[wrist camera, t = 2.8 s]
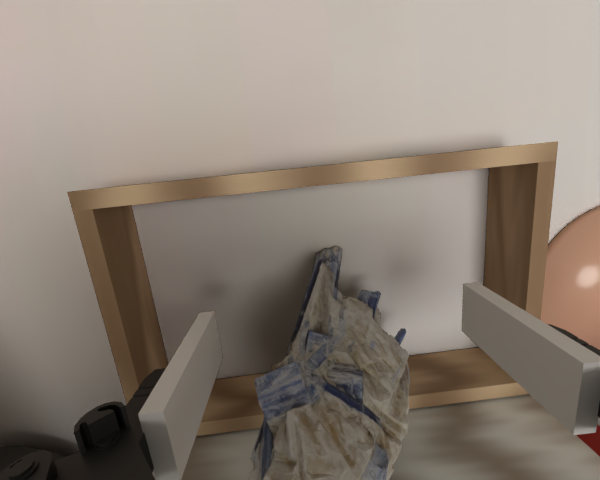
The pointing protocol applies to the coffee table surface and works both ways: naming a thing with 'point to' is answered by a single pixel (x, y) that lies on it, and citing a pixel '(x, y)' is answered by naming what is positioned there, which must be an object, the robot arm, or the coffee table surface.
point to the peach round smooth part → (575, 279)
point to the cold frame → (422, 368)
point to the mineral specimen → (334, 390)
